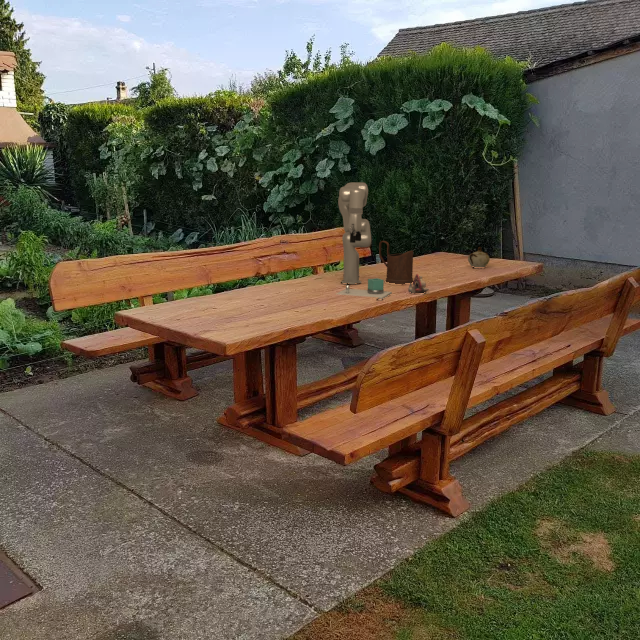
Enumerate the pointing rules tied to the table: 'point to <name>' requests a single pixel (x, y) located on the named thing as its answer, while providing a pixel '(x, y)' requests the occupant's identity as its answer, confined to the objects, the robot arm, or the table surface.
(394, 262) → the brown pitcher
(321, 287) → the table surface
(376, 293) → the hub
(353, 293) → the board
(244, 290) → the table surface
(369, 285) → the collar
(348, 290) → the stand rod
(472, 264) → the sugar bowl
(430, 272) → the table surface
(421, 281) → the brake caliper
